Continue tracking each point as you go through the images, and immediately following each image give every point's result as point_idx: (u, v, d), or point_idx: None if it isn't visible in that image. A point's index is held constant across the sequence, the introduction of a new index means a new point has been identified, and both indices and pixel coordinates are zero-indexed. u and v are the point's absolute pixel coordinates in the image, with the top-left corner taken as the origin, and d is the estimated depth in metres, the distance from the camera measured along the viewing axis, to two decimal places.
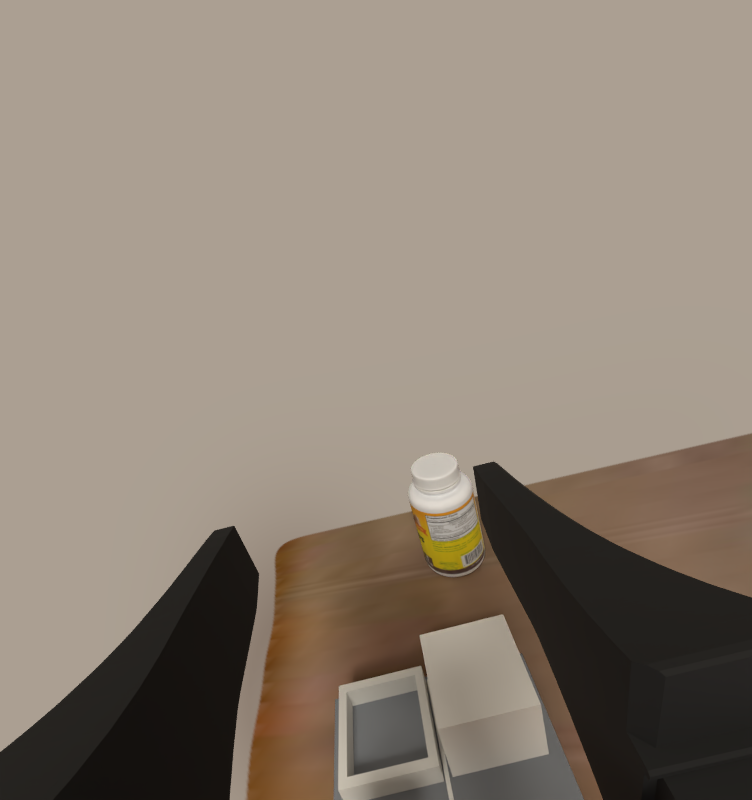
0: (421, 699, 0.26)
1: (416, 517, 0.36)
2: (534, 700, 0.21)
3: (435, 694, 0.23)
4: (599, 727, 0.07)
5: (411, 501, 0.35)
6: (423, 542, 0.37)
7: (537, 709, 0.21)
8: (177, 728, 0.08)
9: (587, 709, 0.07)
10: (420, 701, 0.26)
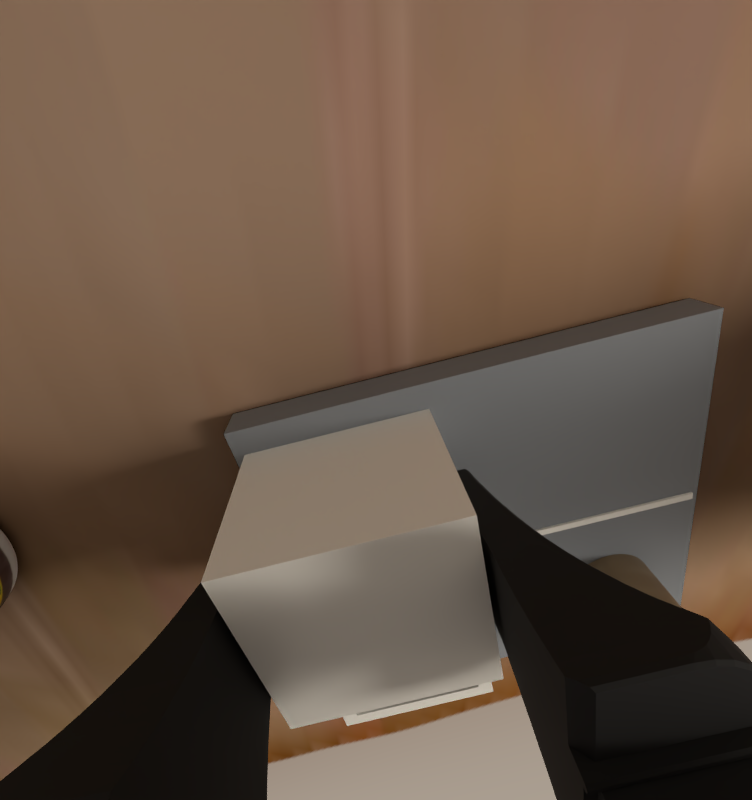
0: None
1: None
2: (466, 526, 0.08)
3: (435, 688, 0.10)
4: (550, 738, 0.07)
5: None
6: None
7: None
8: (219, 718, 0.08)
9: (541, 720, 0.07)
10: None
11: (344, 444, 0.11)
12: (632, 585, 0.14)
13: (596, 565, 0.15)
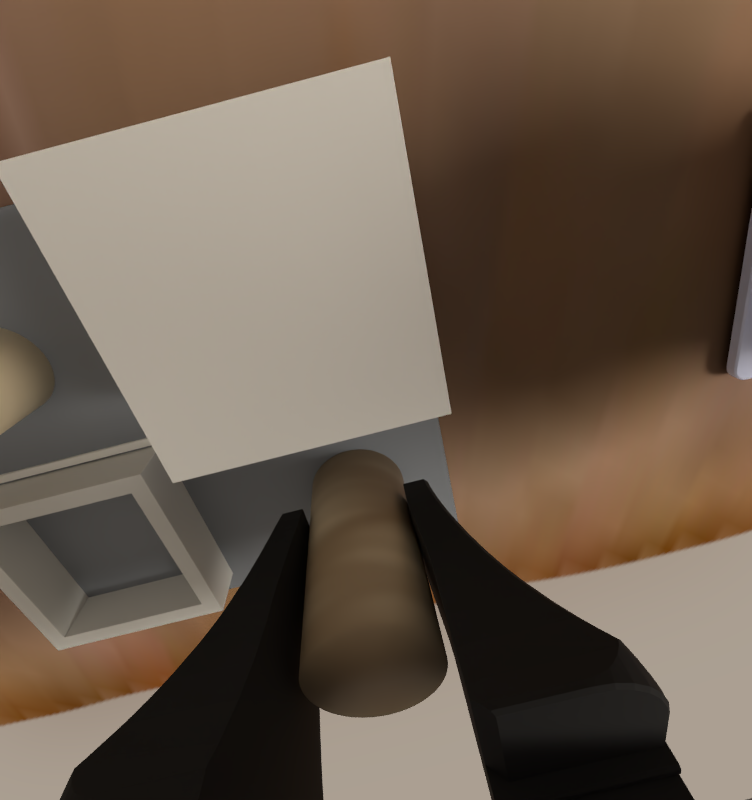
0: (21, 515, 0.11)
1: None
2: (376, 82, 0.06)
3: (360, 423, 0.08)
4: (480, 755, 0.07)
5: None
6: None
7: None
8: (282, 703, 0.08)
9: None
10: (26, 517, 0.11)
11: None
12: (349, 475, 0.12)
13: (330, 461, 0.13)
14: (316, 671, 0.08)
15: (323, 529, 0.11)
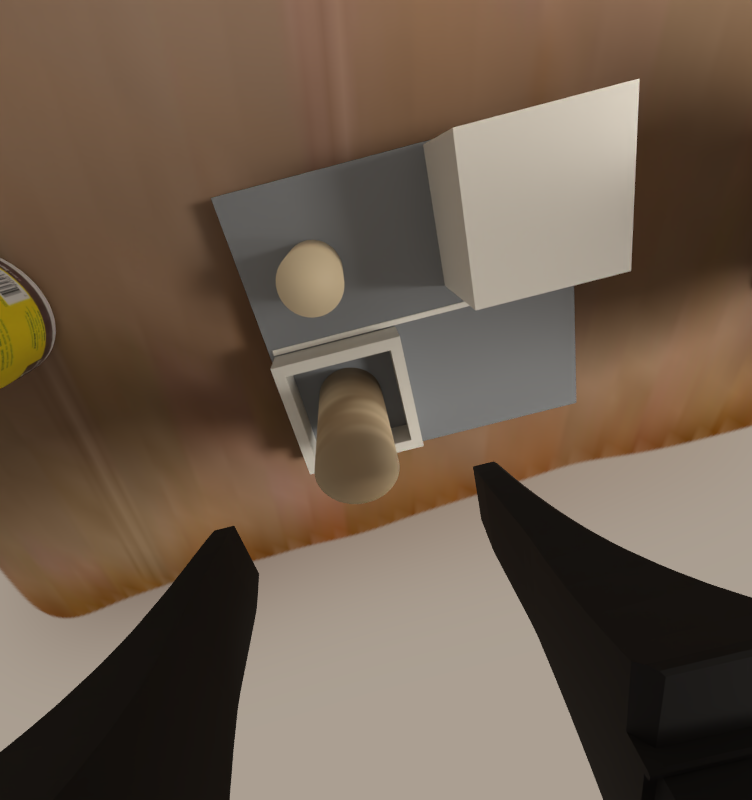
0: (320, 364, 0.18)
1: None
2: (630, 90, 0.12)
3: (582, 275, 0.14)
4: (599, 727, 0.07)
5: None
6: None
7: None
8: (177, 728, 0.08)
9: (587, 709, 0.07)
10: (323, 365, 0.18)
11: None
12: (344, 379, 0.18)
13: (331, 375, 0.19)
14: (324, 465, 0.15)
15: (327, 404, 0.17)
